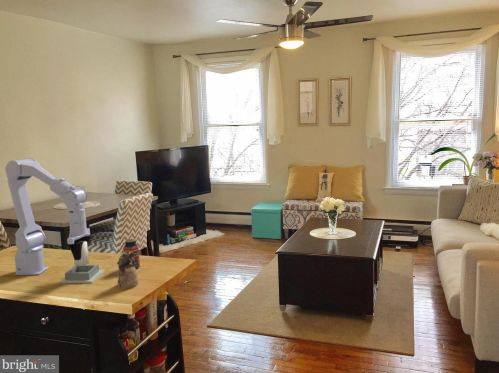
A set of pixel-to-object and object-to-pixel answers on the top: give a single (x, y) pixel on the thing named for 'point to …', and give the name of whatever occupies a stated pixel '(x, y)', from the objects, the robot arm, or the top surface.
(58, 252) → the top surface
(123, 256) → the figurine
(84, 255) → the cream white egg
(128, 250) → the supplement bottle
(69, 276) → the cup holder
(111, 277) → the top surface
